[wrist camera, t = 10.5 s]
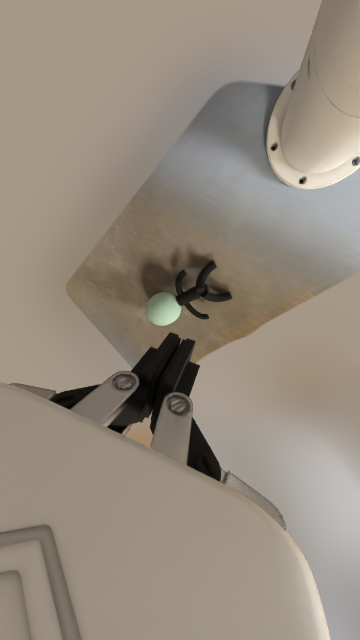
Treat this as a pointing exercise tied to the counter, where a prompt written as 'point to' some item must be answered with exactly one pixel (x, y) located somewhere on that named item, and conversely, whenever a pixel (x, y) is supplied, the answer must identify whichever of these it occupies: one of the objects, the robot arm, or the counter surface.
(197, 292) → the toy
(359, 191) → the counter surface
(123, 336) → the counter surface
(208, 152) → the counter surface
